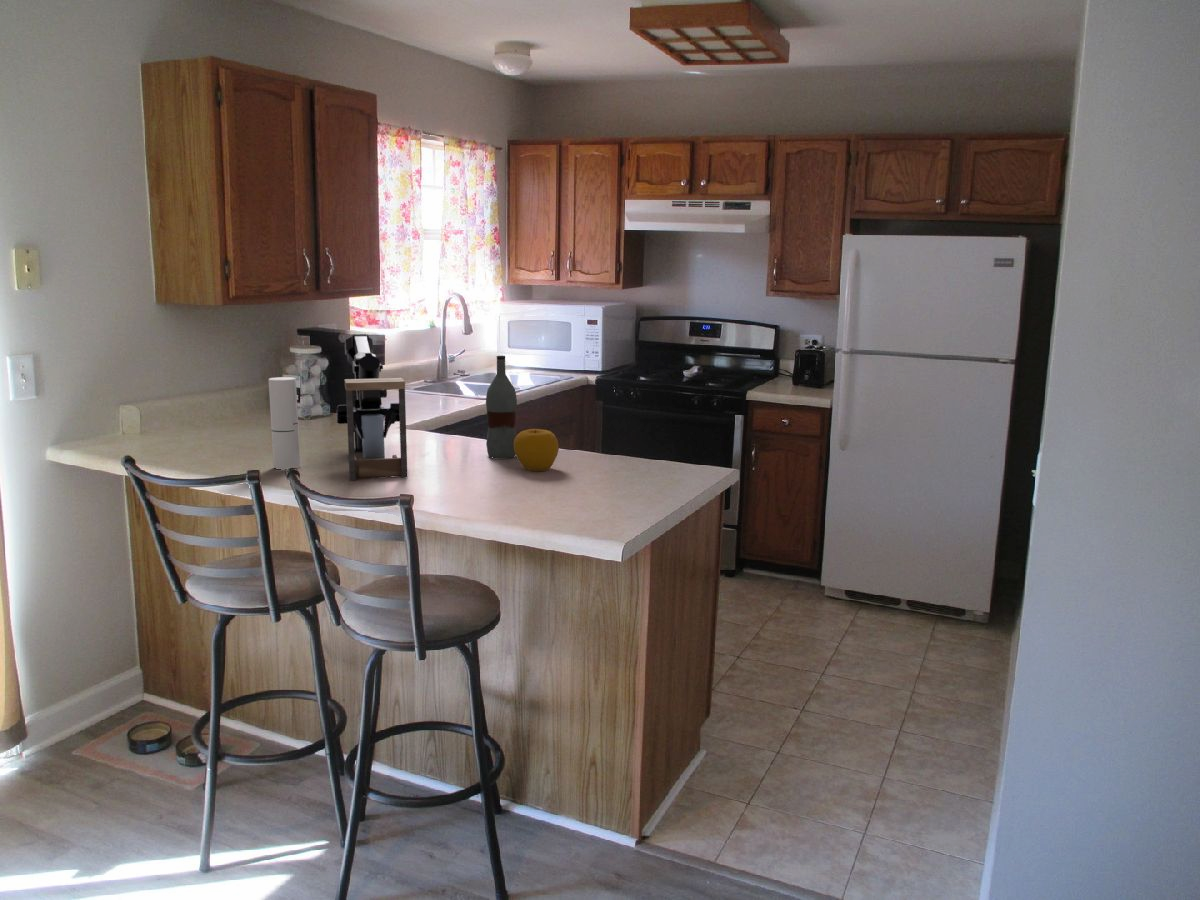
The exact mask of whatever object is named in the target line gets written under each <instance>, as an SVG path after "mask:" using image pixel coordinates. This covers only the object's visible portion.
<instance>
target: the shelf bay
mask: <svg viewBox="0 0 1200 900" xmlns="http://www.w3.org/2000/svg"><path fill="white" fill-rule="evenodd" d="M344 388H345V394H346V395H345V397H346V398H345V399H346V405H347V425H346V426H347V446H348V447H347V448H348V449H347V450H348V469H349V472H348V473H349V482H351V481H353V482H354V481H357V480H362V479H380V478H379V477H385V478H392V477H391V476H401V477H400V478H402V477H407V478H408V451H407V450H408V445H407V416H406V412H407V411H406V409H407V408H406V381H405V380H404V378H403V377H390V378H389V377H388V378H387V377H385V378H384V377H381V378H380V377H379V378H377V379H355V378H346V379H344ZM385 389H387V390H398V403H399V419H400V421H399V445H400V446H399V449H400V457H398V456H397V454H392V457H390V458H389V457H388V458H386V457H385V458H384V459H364V460H363V459H357V456H356V454H355V453H356V451H355V432H354V422H353V408H354V401H353V391H356V390H385Z"/></svg>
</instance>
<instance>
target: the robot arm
mask: <svg viewBox="0 0 1200 900" xmlns="http://www.w3.org/2000/svg"><path fill="white" fill-rule="evenodd" d="M369 336H370V335H369V333H364V332H362V333H359V332H358V333H352V334H351V336H350V337H348V338H346V339H345V341H344V354H345V356H347V362H348V363H349V364H350V366H352V373H353V374H354V379H377V378H380V373H381V372H382V370H384V365H383V364H382V363H381V361H380V360H379V358H378V357H377V355H376V354H374V343H373V339H372V338H371V337H369ZM355 391H356V399H355V401H354V403H353V422H354V447H355V452H360V453H361V452H362V453H363V448H362V438H363V436H362V421H361V416H362V415H367V414H381V415H383V417H384V439H385V438H387V435H388V433H389V429H390V427H391V426H392V425H394V424H396V422H399V423H400V419H399V402H392V403H391V402H390V405H389V407H388V408H381V406H382V398H383V399H384V398H385V399H386V398H387V395H388V389H385V390H355ZM336 422H337V424H340V425H341V424H344V425H346V424H347V404H338V405H337V406H336Z"/></svg>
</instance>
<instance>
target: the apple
mask: <svg viewBox="0 0 1200 900" xmlns="http://www.w3.org/2000/svg"><path fill="white" fill-rule="evenodd" d="M514 451H515V454H516V455H515V457H516V458H517V460H518V461H519V463H520V465H521V466H522V468H524V469H526V470H528V471H532V472H533V471H535V472H541V473H542V472H546V471H548V470H550V469H551V468H552V466H553V465H554V462H555V461H556V460H557V459H556V458H557V457H558V455H559V441H558V439H557V437H556V435H555V434H554V433H553V432H552V431H551V430H547V429H541V428H529V429H525V430H522V431H520V432H519V433H517V434H516V437H515V439H514Z"/></svg>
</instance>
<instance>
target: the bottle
mask: <svg viewBox="0 0 1200 900" xmlns="http://www.w3.org/2000/svg"><path fill="white" fill-rule="evenodd" d="M506 373H507V372H506V356H505V355H496V375H495V376H494V377H493V380H492V381H491V383H490V385H489V386H488V388H487V391H486V395H485V396H486V397H485V405H486V415H487V416H486V417H487V426H488V427H487V434H486V435H487V436H486V452H487V455H488V457H489V458H490V457H493V458H509V459H513V458H515V457H516V454H515V451H514V439H515V437H516V436H517V433H516V432H517V431H516V419H517V418H516V417H517V416H516V415H517V406H518V399H517V392H516V388H515V386H513V383H512V382H511V380H510V379H509V377H508V376H507V374H506ZM514 456H515V457H514ZM512 457H513V458H512ZM493 458H492V459H493Z"/></svg>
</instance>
